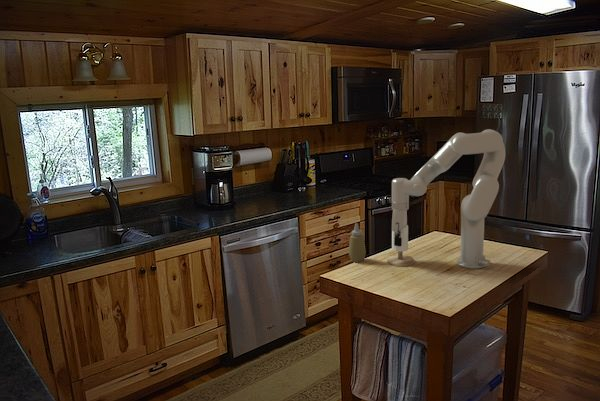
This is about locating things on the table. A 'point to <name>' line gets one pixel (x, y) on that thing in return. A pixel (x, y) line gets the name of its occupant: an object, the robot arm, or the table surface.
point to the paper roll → (404, 240)
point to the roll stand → (400, 260)
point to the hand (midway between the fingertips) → (399, 243)
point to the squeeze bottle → (357, 245)
